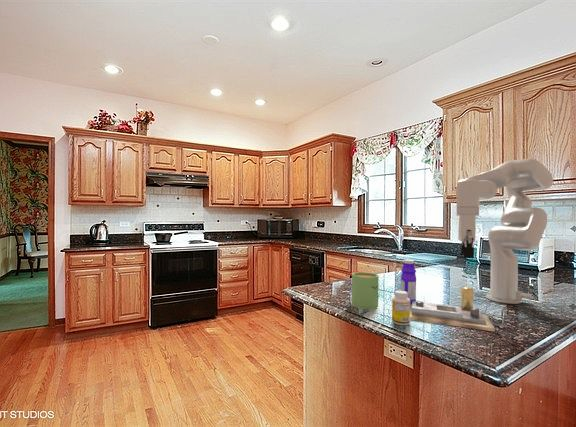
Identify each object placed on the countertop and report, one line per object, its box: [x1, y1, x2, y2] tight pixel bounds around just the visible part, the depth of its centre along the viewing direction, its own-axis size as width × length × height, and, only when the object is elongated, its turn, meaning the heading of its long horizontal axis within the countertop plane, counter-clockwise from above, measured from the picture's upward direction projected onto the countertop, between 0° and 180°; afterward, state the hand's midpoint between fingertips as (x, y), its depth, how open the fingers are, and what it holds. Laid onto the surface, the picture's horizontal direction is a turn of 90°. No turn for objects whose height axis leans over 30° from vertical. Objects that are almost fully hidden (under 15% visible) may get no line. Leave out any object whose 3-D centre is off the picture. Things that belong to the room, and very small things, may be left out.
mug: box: [351, 271, 380, 310], centre depth 121 cm, size 13×10×12 cm
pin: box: [460, 286, 474, 311], centre depth 118 cm, size 4×4×8 cm
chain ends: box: [411, 300, 486, 325], centre depth 106 cm, size 22×9×3 cm, turn 66°
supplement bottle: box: [391, 290, 411, 326], centre depth 101 cm, size 6×6×10 cm
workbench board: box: [410, 305, 496, 333], centre depth 106 cm, size 26×14×1 cm, turn 66°
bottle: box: [400, 258, 417, 305], centre depth 125 cm, size 7×6×17 cm
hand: (467, 256), depth 118 cm, fingers open, 9 cm apart
